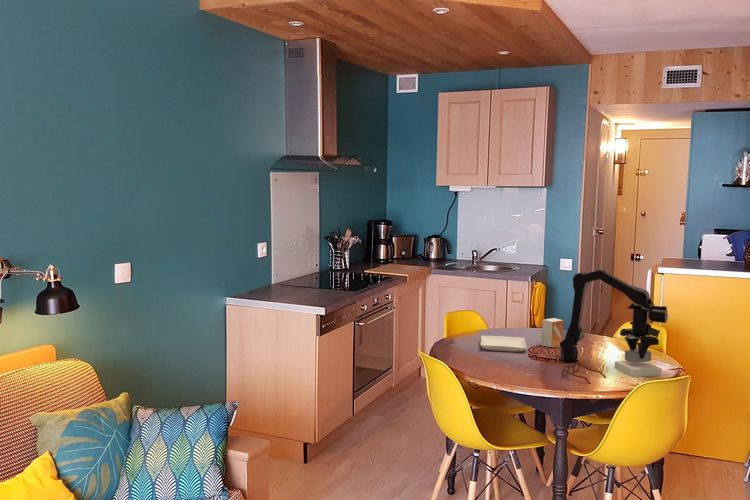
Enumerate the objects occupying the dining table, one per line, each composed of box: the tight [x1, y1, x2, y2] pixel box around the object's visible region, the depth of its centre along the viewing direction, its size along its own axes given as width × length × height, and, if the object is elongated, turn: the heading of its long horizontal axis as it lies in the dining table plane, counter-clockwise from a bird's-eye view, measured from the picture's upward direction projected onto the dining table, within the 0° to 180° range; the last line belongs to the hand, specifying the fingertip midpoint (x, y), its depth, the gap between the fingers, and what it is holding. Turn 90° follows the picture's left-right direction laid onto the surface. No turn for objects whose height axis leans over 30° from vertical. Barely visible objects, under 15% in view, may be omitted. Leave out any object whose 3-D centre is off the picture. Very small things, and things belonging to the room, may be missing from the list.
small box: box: [541, 317, 565, 348], centre depth 313 cm, size 8×6×13 cm
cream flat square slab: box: [480, 335, 528, 353], centre depth 312 cm, size 21×21×3 cm
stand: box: [614, 360, 662, 378], centre depth 272 cm, size 13×13×3 cm
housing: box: [624, 347, 652, 363], centre depth 272 cm, size 5×9×5 cm, turn 107°
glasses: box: [561, 362, 607, 385], centre depth 263 cm, size 13×13×5 cm
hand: (637, 356), depth 272 cm, fingers closed on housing, 5 cm apart
